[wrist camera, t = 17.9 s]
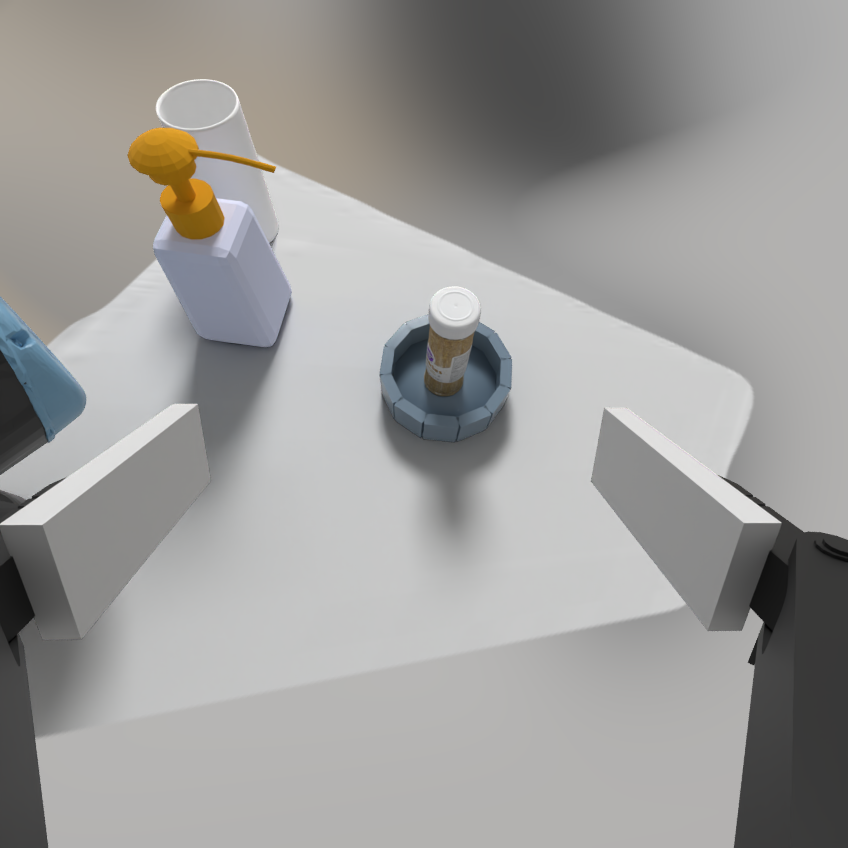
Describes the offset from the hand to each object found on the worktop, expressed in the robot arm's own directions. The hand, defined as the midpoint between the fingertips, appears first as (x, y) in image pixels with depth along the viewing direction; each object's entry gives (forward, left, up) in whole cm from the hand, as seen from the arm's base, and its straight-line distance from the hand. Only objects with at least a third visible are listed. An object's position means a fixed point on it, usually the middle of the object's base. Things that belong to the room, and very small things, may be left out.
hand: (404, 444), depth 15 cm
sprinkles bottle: (+12, +16, -31) cm, 37 cm away
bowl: (+12, +16, -32) cm, 38 cm away
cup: (-2, +48, -32) cm, 58 cm away
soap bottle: (-4, +33, -32) cm, 47 cm away
